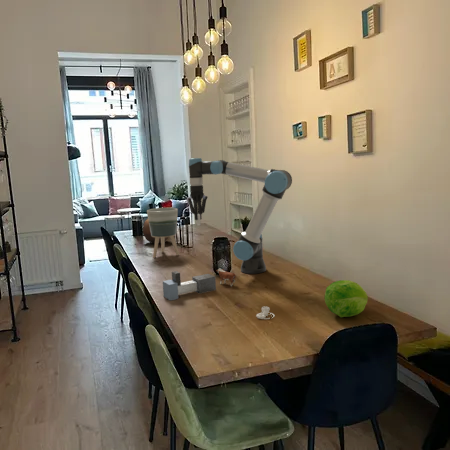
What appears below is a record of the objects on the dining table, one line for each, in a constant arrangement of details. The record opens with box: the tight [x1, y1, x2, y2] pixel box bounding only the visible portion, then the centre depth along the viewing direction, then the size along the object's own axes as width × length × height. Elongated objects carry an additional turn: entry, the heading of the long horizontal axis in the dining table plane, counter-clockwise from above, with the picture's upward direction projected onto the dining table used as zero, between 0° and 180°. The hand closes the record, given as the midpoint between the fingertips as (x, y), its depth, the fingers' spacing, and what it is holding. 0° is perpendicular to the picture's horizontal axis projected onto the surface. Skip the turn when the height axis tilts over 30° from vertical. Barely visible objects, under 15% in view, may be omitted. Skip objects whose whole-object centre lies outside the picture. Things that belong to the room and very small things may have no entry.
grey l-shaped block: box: [171, 270, 198, 296], centre depth 223 cm, size 17×4×11 cm, turn 121°
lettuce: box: [324, 279, 369, 318], centre depth 187 cm, size 17×20×15 cm
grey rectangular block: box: [191, 273, 217, 295], centre depth 230 cm, size 10×7×7 cm
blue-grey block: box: [162, 279, 179, 301], centre depth 220 cm, size 4×8×8 cm, turn 31°
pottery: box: [142, 218, 169, 244], centre depth 360 cm, size 23×23×25 cm
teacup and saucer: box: [255, 305, 275, 320], centre depth 190 cm, size 9×8×4 cm
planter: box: [146, 207, 180, 259], centre depth 314 cm, size 22×22×33 cm
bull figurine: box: [216, 268, 237, 287], centre depth 239 cm, size 4×13×8 cm, turn 45°
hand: (198, 225), depth 258 cm, fingers closed
